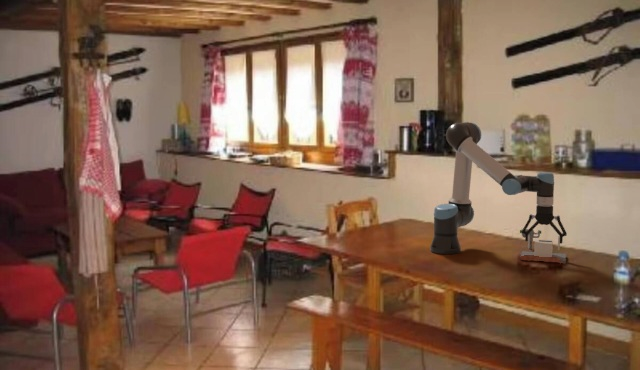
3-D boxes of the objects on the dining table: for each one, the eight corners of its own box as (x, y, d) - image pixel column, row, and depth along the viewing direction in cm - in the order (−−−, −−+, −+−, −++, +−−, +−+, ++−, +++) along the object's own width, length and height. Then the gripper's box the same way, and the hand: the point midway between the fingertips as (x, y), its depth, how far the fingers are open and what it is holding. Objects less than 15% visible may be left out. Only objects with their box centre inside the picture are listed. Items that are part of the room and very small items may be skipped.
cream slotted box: (534, 257, 304) (534, 241, 303) (534, 253, 312) (535, 238, 311) (551, 258, 301) (552, 242, 300) (552, 254, 309) (552, 239, 308)
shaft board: (520, 260, 304) (520, 248, 303) (522, 254, 317) (522, 242, 316) (565, 263, 297) (565, 251, 296) (565, 256, 310) (566, 244, 309)
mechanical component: (541, 250, 324) (541, 230, 323) (519, 249, 326) (520, 230, 325) (540, 248, 327) (540, 229, 326) (519, 248, 329) (519, 229, 328)
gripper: (516, 205, 304) (515, 248, 307) (573, 207, 295) (571, 252, 298) (517, 202, 311) (516, 245, 314) (573, 205, 302) (571, 249, 305)
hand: (543, 249), depth 306 cm, fingers open, 13 cm apart
